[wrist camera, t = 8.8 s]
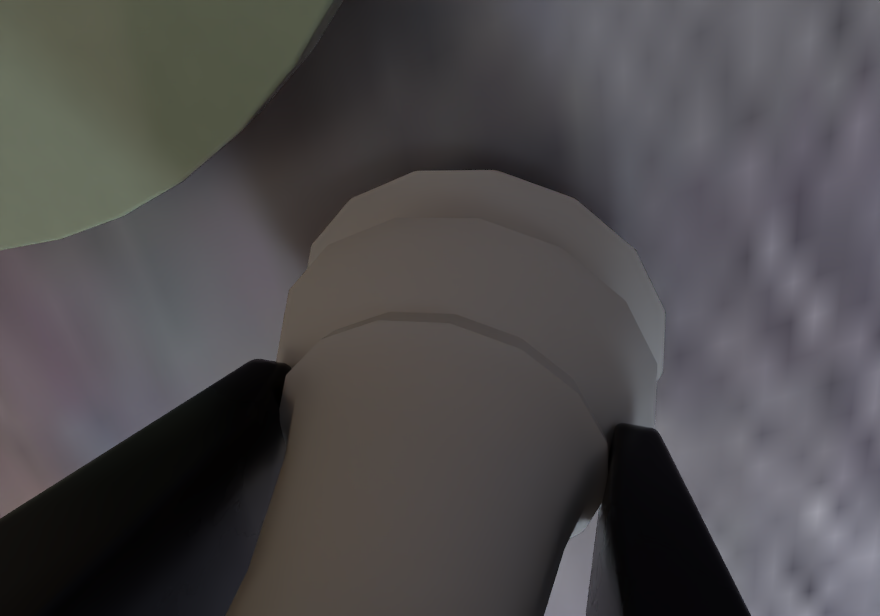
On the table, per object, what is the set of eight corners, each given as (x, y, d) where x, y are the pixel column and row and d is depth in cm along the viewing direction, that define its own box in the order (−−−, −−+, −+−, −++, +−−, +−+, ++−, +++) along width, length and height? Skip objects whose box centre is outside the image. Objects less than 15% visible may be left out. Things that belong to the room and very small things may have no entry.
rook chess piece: (694, 427, 10) (718, 1502, 4) (385, 448, 12) (75, 1240, 6) (629, 107, 8) (465, 1429, 2) (257, 186, 10) (-477, 1039, 4)
